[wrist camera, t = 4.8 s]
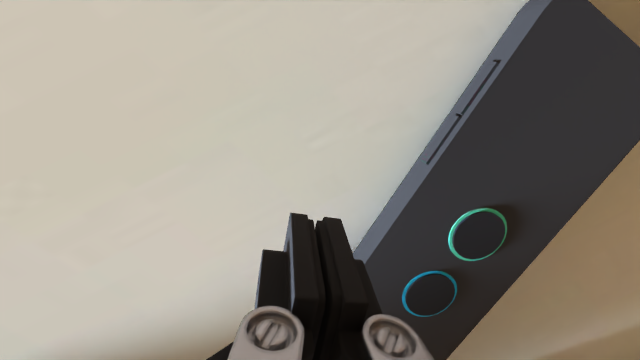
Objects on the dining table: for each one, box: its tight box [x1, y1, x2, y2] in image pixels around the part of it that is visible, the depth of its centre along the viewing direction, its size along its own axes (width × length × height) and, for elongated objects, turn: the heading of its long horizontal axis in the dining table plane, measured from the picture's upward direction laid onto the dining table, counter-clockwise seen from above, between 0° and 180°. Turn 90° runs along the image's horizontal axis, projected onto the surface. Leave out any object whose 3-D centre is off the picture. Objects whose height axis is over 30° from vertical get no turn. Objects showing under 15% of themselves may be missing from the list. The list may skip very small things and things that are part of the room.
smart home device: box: [353, 0, 640, 360], centre depth 17 cm, size 8×2×20 cm
